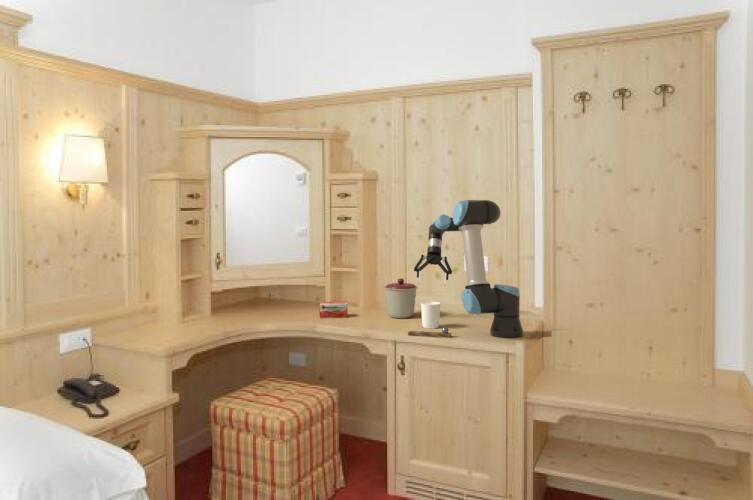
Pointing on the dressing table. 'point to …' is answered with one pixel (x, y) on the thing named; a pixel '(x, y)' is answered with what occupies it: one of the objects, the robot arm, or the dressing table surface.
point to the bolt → (445, 330)
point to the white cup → (430, 314)
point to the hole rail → (428, 334)
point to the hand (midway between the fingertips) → (431, 284)
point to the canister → (400, 299)
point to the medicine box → (333, 309)
